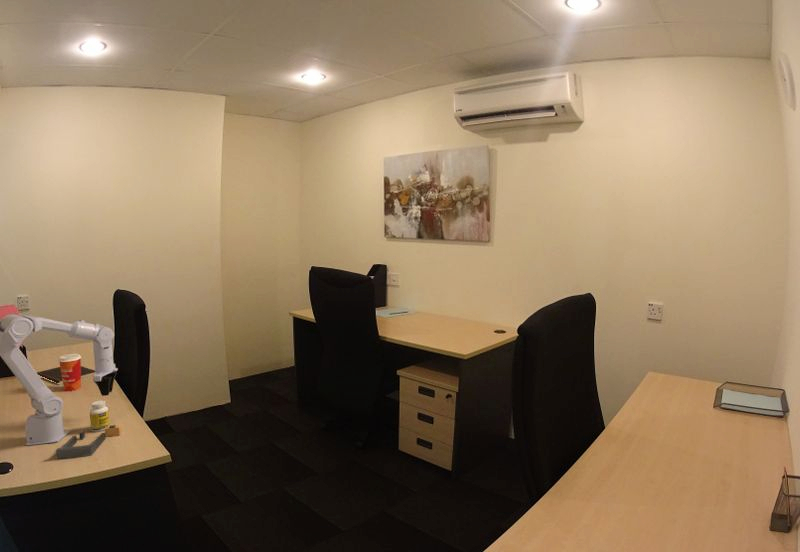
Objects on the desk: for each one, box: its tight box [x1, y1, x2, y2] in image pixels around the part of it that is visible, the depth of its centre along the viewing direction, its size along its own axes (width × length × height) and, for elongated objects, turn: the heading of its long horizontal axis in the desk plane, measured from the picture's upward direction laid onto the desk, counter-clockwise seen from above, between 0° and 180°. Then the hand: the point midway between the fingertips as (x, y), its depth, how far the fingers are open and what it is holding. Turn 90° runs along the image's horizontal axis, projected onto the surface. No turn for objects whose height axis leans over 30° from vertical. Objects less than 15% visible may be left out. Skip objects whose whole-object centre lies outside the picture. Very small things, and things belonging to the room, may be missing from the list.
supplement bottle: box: [89, 399, 110, 433], centre depth 158 cm, size 5×5×10 cm
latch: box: [104, 424, 122, 437], centre depth 154 cm, size 4×1×3 cm, turn 104°
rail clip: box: [55, 430, 106, 460], centre depth 146 cm, size 10×14×3 cm, turn 14°
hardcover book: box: [36, 365, 95, 383], centre depth 215 cm, size 16×23×2 cm
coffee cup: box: [57, 353, 82, 392], centre depth 197 cm, size 8×8×15 cm
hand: (106, 393), depth 165 cm, fingers open, 2 cm apart
